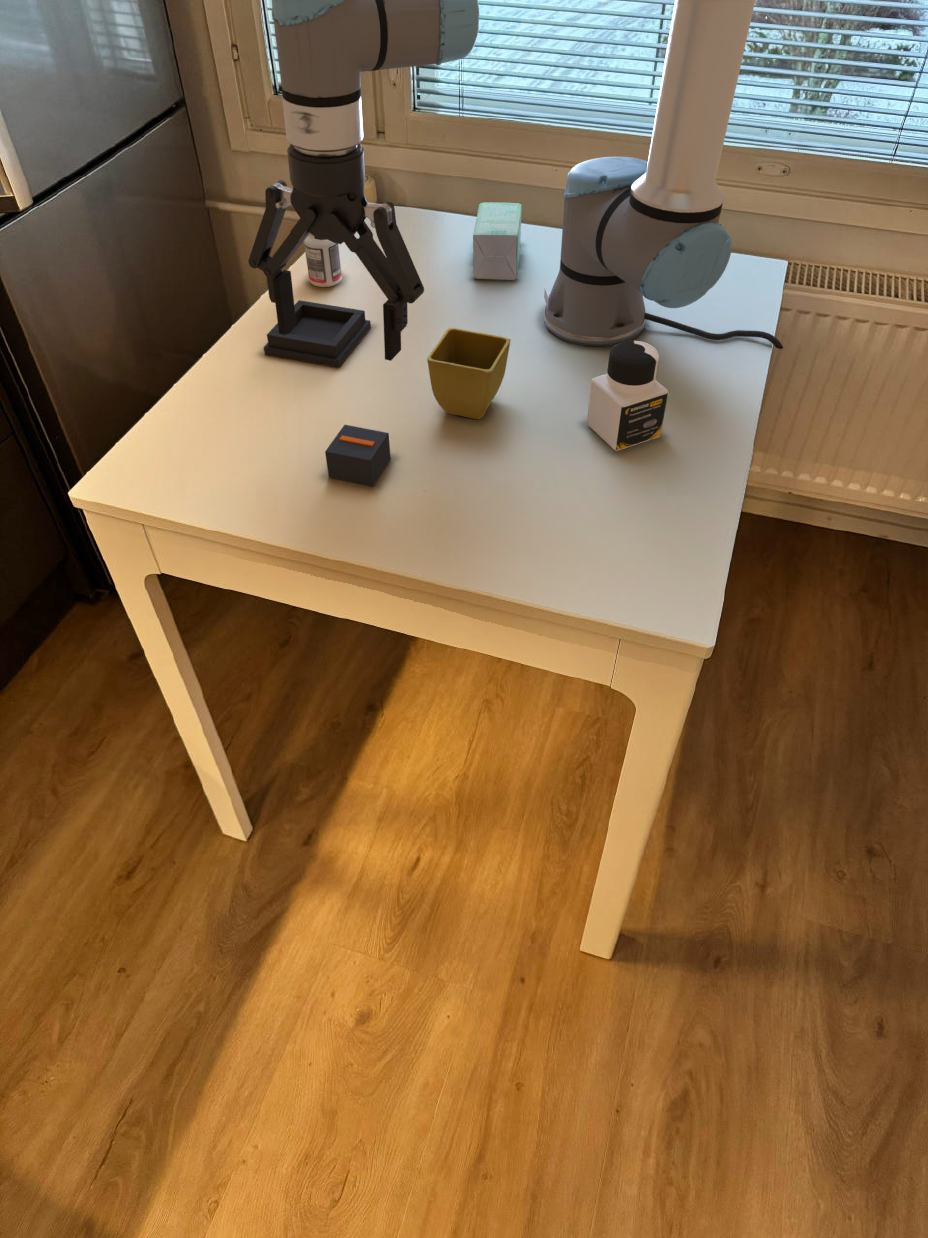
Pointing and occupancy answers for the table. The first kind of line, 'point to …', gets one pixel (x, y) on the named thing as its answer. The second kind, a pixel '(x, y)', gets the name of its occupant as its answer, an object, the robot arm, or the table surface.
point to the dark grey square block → (358, 455)
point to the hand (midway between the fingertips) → (339, 341)
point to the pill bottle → (322, 261)
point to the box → (497, 241)
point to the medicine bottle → (628, 397)
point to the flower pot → (467, 371)
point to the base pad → (319, 334)
